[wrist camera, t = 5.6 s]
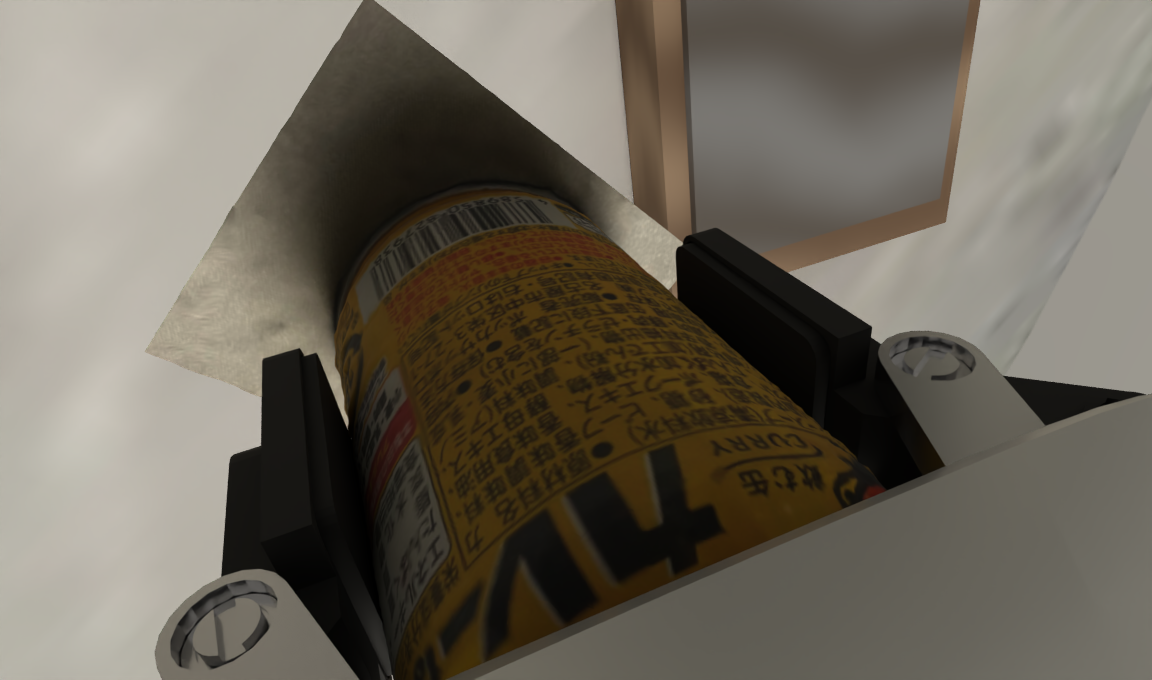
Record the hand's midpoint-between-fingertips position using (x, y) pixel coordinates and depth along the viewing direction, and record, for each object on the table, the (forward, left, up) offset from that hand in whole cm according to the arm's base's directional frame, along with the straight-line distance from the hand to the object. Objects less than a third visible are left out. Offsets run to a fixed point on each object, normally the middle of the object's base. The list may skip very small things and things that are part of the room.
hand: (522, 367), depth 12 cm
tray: (-1, +16, -16) cm, 22 cm away
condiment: (0, 0, -3) cm, 4 cm away
